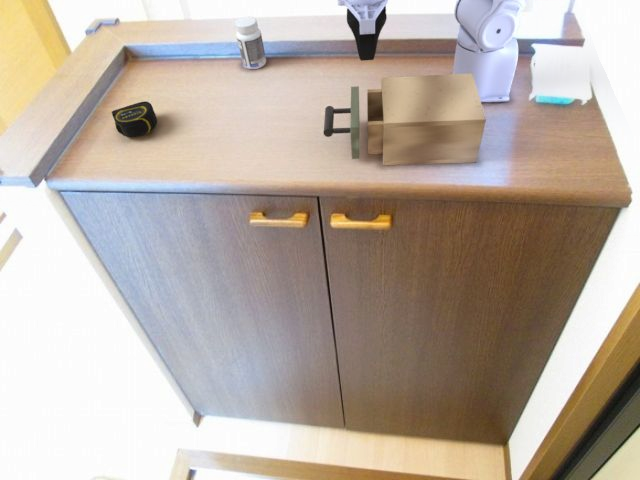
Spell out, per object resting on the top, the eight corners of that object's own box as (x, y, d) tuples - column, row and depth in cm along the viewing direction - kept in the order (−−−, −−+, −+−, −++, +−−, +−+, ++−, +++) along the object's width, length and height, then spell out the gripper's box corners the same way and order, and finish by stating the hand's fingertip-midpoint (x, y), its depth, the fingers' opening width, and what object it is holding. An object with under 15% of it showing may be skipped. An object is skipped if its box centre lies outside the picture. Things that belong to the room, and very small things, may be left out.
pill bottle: (270, 58, 93) (262, 16, 86) (260, 71, 90) (252, 28, 83) (249, 56, 94) (240, 14, 87) (239, 68, 91) (229, 26, 85)
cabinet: (383, 165, 69) (384, 123, 63) (380, 119, 76) (381, 77, 71) (476, 162, 68) (486, 119, 62) (464, 115, 75) (472, 73, 69)
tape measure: (155, 114, 83) (148, 95, 80) (163, 134, 79) (155, 115, 76) (117, 125, 82) (108, 107, 79) (123, 147, 78) (113, 128, 75)
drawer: (324, 160, 70) (321, 128, 65) (327, 119, 76) (324, 87, 72) (436, 156, 68) (441, 123, 64) (429, 114, 75) (433, 82, 70)
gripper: (336, -56, 66) (341, 37, 76) (334, -14, 57) (340, 85, 67) (386, -60, 65) (384, 34, 76) (392, -19, 56) (389, 82, 67)
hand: (366, 58), depth 71 cm, fingers closed
